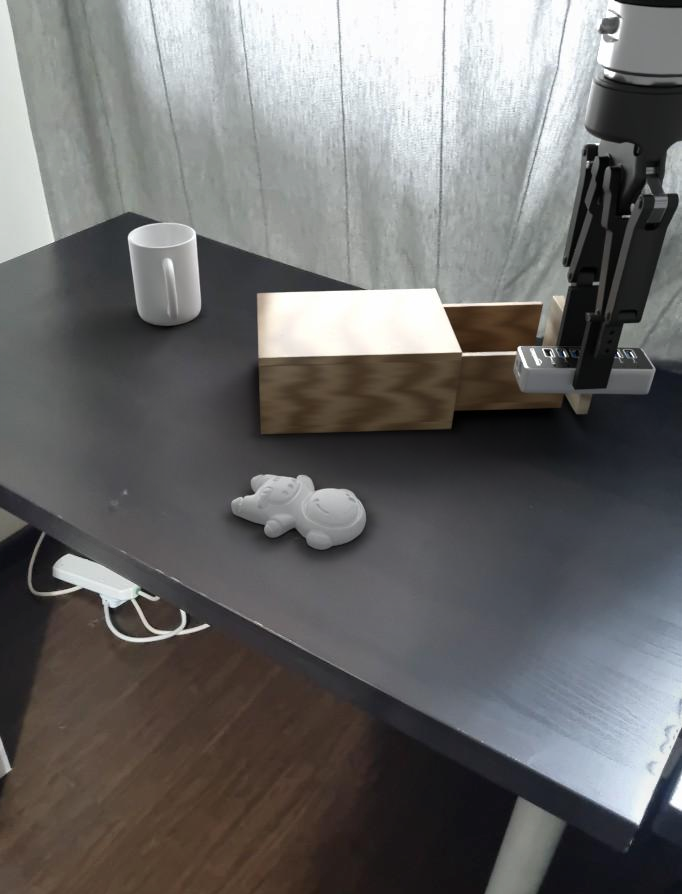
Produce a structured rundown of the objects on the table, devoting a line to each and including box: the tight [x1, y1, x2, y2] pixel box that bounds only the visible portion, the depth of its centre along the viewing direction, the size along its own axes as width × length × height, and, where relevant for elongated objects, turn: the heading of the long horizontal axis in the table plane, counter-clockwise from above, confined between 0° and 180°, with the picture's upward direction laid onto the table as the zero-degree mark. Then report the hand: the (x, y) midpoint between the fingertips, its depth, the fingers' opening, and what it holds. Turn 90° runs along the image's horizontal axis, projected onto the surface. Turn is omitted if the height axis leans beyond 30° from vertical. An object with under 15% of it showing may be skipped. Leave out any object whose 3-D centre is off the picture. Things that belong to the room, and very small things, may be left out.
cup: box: [127, 222, 202, 327], centre depth 103 cm, size 8×12×10 cm
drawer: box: [442, 295, 594, 415], centre depth 89 cm, size 20×14×7 cm
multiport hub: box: [513, 345, 657, 395], centre depth 72 cm, size 4×11×2 cm, turn 87°
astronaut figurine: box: [230, 473, 367, 551], centre depth 74 cm, size 9×12×3 cm
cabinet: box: [256, 287, 462, 435], centre depth 88 cm, size 20×15×9 cm
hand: (579, 370), depth 72 cm, fingers closed on multiport hub, 5 cm apart
